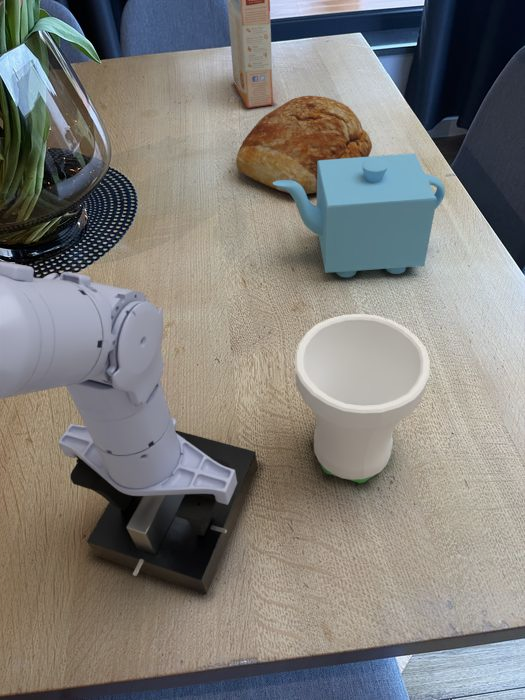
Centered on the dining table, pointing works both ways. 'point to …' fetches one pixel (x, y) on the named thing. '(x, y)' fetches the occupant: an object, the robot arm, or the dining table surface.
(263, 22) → the cracker box
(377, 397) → the cup
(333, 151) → the bread
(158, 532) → the red-topped metal block
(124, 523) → the switch base
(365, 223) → the teapot
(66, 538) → the dining table surface
